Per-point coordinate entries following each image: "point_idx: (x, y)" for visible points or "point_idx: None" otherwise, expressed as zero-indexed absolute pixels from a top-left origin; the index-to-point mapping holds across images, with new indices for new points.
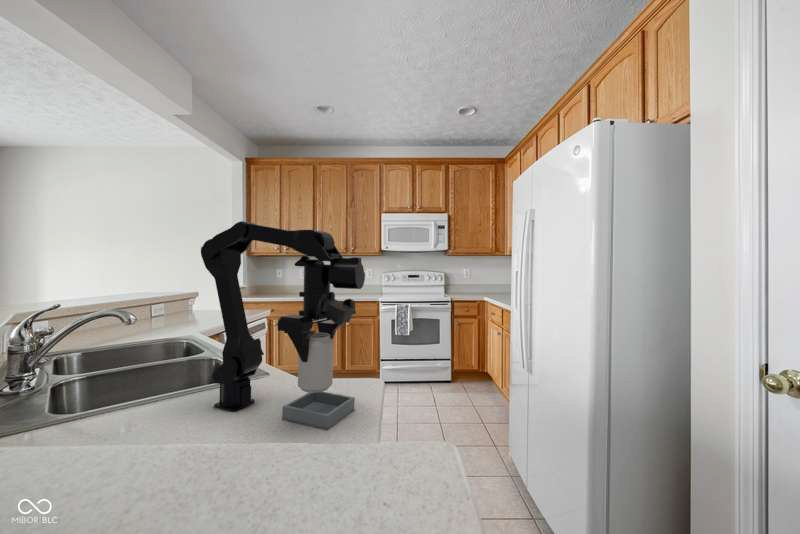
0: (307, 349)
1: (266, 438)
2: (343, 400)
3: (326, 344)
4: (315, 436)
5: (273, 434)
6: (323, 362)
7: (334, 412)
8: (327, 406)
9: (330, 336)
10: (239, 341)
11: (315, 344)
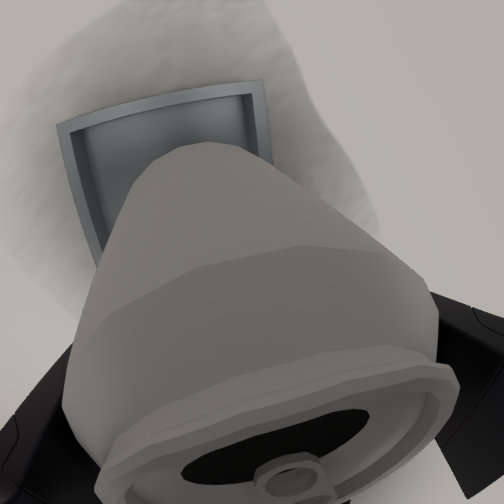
0: (443, 307)
1: (360, 192)
2: (81, 161)
3: (345, 252)
4: (296, 90)
5: (340, 195)
6: (290, 181)
7: (213, 85)
8: (119, 204)
9: (43, 451)
10: (348, 501)
11: (435, 315)
